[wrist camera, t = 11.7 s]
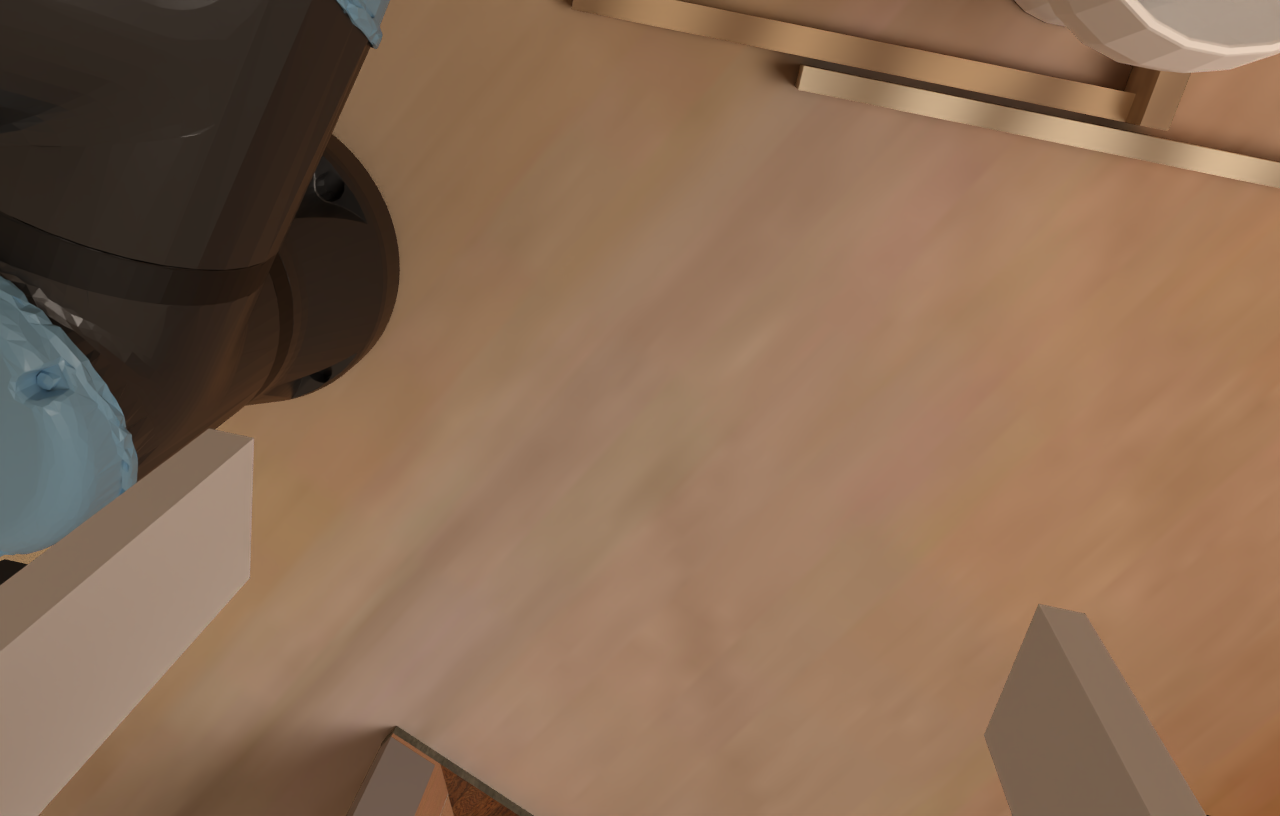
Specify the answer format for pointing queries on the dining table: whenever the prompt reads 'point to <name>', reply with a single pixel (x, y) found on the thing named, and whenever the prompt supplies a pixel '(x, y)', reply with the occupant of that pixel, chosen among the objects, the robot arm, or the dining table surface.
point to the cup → (1169, 30)
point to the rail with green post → (913, 61)
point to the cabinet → (424, 785)
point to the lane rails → (1039, 125)
